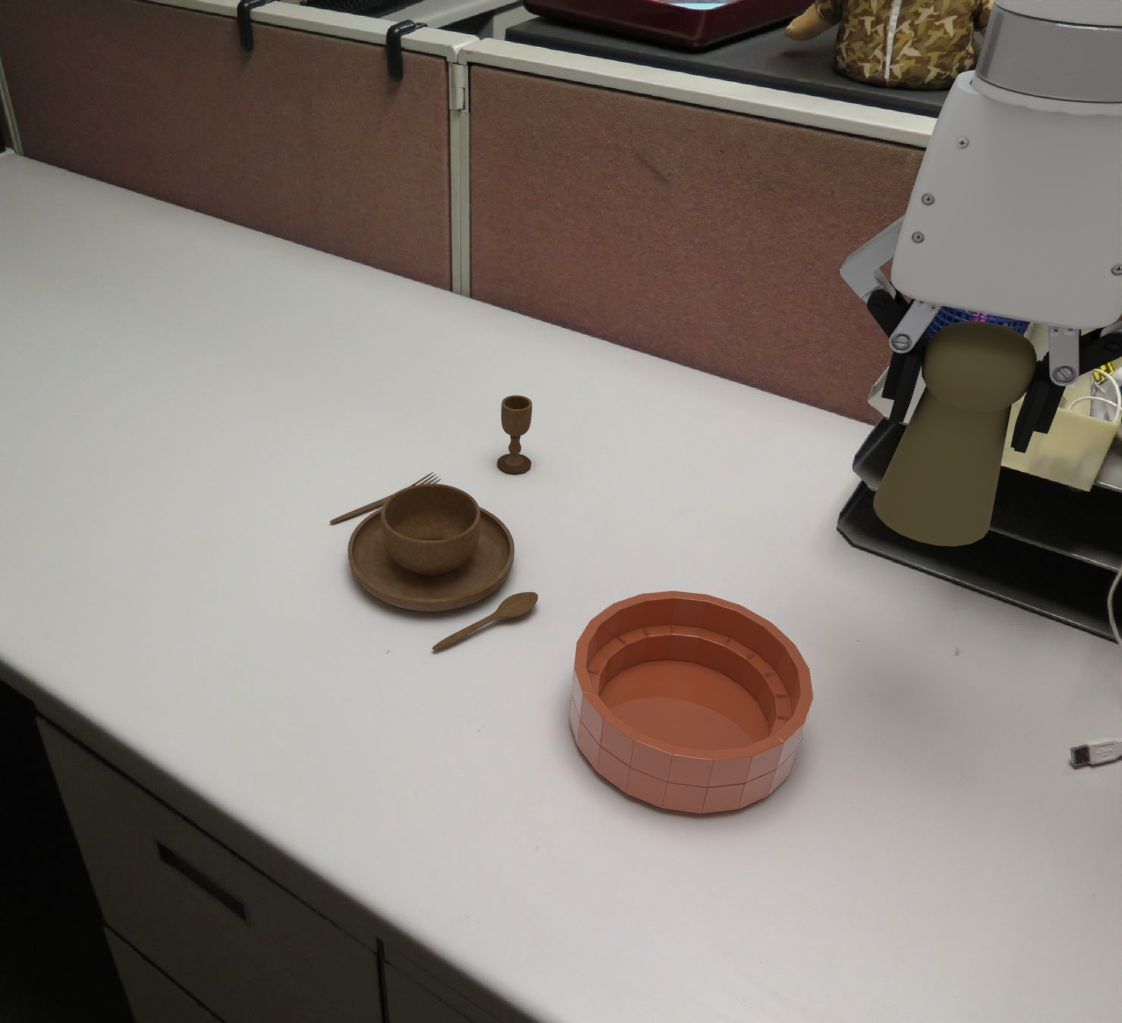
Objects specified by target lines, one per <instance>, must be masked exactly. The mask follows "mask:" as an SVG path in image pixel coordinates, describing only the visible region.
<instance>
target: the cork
mask: <svg viewBox="0 0 1122 1023" xmlns="http://www.w3.org/2000/svg"><path fill="white" fill-rule="evenodd" d="M1037 361H1038V356H1037V352H1036V349H1035V346H1034V345H1033V343H1032V342H1031V341H1030V339H1028V338H1027V337H1025V336H1024V335H1023V334H1021V333H1020V332H1019V331H1017V330H1016V329H1012V328H1011V327H1008V326H1005V325H1002V324H998V323H994V322H988V321H983V320H967V321H958V322H954V323H951V324H948V325H945V326H943V327H942V328H941V329H940V330H938V331H937V332H936V333H935V334H934V335H933V336H932V337H931V338H929V341H928V344H927V345H926V347H925V351H924V355H923V358H922V365H921V378H922V380H923V382H924V384H925V387H924V388H923V391H922V393H921V395H920V397H919V400H918V402H917V404H916V406H915V408H914V410H913V413H912V415H911V416H910V419H909V421H908V423H907V425H906V428H905V430H904V432H903V434H902V436H901V439H900V441H899V443H898V445H897V447H896V449H895V451H894V454H893V456H892V458H891V460H890V462H889V464H888V467H887V468H886V471H885V473H884V475H883V477H882V479H881V482H880V484H879V486H878V488H877V490H876V492H875V494H874V497H873V503H872V504H873V505H872V506H873V509H874V512H875V514H876V516H877V517H878V518H879V520H880V521H882V522H883V523H884V525H885V526H886V527H888V528H890V529H891V530H892V531H894V532H896V533H897V534H899V535H901V536H903V537H906V538H909V539H911V540H913V541H916V542H918V543H919V542H920V543H922V544H923V543H924V544H928V545H933V546H937V547H938V546H939V547H959V546H966V545H972V544H973V543H976V542H977V541H979V540H981V539H983V538H984V537H985V536H986V535H987V533H988V532H989V531H990V527H991V521H992V515H993V512H994V511H993V510H994V506H995V500H996V495H997V489H998V484H999V478H1000V472H1001V468H1002V461H1003V456H1004V450H1005V445H1006V439H1007V435H1008V428H1009V423H1010V417H1011V411H1012V406H1013V405H1014V404H1015V403H1016V402H1018V401H1019V400H1021V399H1022V398H1023V397H1024V396H1025V394H1026V392H1027V390H1028V389H1029V387H1030V386H1031V385H1032V382H1033V379H1034V377H1035V374H1036V372H1037Z"/></svg>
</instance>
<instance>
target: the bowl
mask: <svg viewBox="0 0 1122 1023" xmlns="http://www.w3.org/2000/svg"><path fill="white" fill-rule="evenodd" d="M572 673H573V674H572V682H571V690H570V691H571V692H570V700H569V701H570V702H569V712H568V721H569V724H570V727H571V730H572V733H573V737H574V740H575V744H576V745H577V748H578V750H579V751H580V752H581V753H582V755H583V756H584V757H585V759H586V760H587V762H589V763H590V765H591V766H592V768H593V769H594V770H595V772H597V774H599V775H600V776H602V777H603V778H604V779H606V780H607V781H609V782H610V783H611V784H612V785H614V786H615V787H616V788H618V789H619V790H621V792H623V793H625V794H626V795H628V796H631V797H633V798H636V799H638V800H641V801H643V802H646V803H648V804H650V805H653V806H655V807H658V808H661V809H665V810H672V811H679V812H687V813H691V814H707V813H716V812H717V813H718V812H726V811H733V810H740V809H743V808H745V807H746V806H749V805H752V804H754V803H755V802H758V801H760V800H762V799H765V798H767V797H769V796H770V795H772V793H773V792H774V791H775V790H776V789H777V788H778V787H779V786H780V785H781V784H782V783H783V782H784V781H785V780H786V779H787V778H788V777H789V775H790V774H791V771H792V767H793V765H794V762H795V759H796V757H797V753H798V750H799V747H800V744H801V740H802V737H803V733H804V730H805V727H806V723H807V720H808V718H809V713H810V710H811V707H812V704H813V700H814V691H813V684H812V683H813V682H812V676H811V670H810V667H809V666H808V664H807V663H806V661H805V659H804V657H803V655H802V653H801V651H800V650H799V649H798V646H797V645H796V644H795V642H794V641H793V640H791V639H790V638H789V637H788V636H787V635H786V634H785V633H784V632H782V630H780V629H779V628H778V627H777V626H776V625H775V624H774V623H773V622H771V621H770V620H768V619H766V618H765V617H763V616H761V615H760V614H758V613H756V612H754V611H752V610H751V609H748V608H747V607H745V606H743V605H741V604H738V603H736V602H732V601H730V600H726V599H723V598H720V597H718V596H713V595H711V594H708V593H698V592H697V593H696V592H689V591H679V590H667V591H656V592H646V593H639V594H636V595H633V596H630V597H628V598H625V599H621V600H619V601H617V602H614V603H612V604H610V605H609V606H607V607H606V608H605V609H603V610H602V611H600V612H599V613H598V614H597V615H595V616H594V617H593V618H591V619H590V620H589V621H588V623H587V624H586V626H585V628H584V629H583V631H582V633H581V634H580V636H579V637H578V639H577V640H576V643H575V654H574V662H573V671H572Z"/></svg>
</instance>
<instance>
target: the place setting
mask: <svg viewBox="0 0 1122 1023" xmlns="http://www.w3.org/2000/svg"><path fill="white" fill-rule="evenodd" d="M500 407H501V408H500V422H501V428H502V430H503V431H504V433H505V434H507V435H508V436H509V439H510V442H509V444H508V447H507V450H508V452H509V453H505V454H502V455H501V456H500V457H499V458H498V459H497V461H496V466H497V468H498V469H499V470H500V471H502V472H503V473H506V474H511V475H520V474H523V473H526V472H528V471H529V470H530V469H531V467H532V461H531V459H530V458H529V457H528V456H526V455H524V454H522V453H521V451H522V445H521V442H520V441H521V437H522V436H524V435H525V434H527V432H528V431H529V430H530V428H531V424H532V417H533V402H532V400H531V399H530V398H529V397H527V396H524V395H518V394H514V395H512V394H511V395H508V396H506V397H504V398H502V400H501V405H500ZM432 474H433V475H432ZM432 478H433V479H432ZM438 478H439V475H438V476H437V474H434V471H432V472H430V473H429V474H427V475H425V476H423V477H422V478H420V479H418V480H417V481H416V482H413V483H412V484H410V485H408V486H407V487H405V488H402V489H400V490H398V491H396V492H395V493H393V494H390V495H387V496H385V497H382V498H381V499H377V500H376V501H373V502H370V503H368V504H366V505H363V506H361V507H358V508H356V509H353V510H352V511H349V512H346V513H344V514H341V515H340V516H337V517H335V518H333V519H331V520H329V523H330V524H336V523H339V522H342V521H345V520H347V519H350V518H353V517H355V516H357V515H360V514H363V513H365V512H367V511H369V510H372V509H374V508H377V507H379V506H381V505H382V506H381V508H378V509H377V510H376V511H374V512H372V513H370V514H369V515H367V516H366V517H365V518H364V519H363V520H362V521H361V522H359V523H358V524H357V526H356V527H355V528H354V530H353V532H352V533H351V535H350V536H349V541H348V544H347V558H348V563H349V567H350V570H351V573H352V574H353V576H354V578H355V579H356V581H357V582H358V583H359V585H360V586H361V587H362V588H364V590H366V591H367V592H368V593H369V594H370V595H372V596H373V597H375V598H376V599H378V600H380V601H382V602H384V603H387V604H389V605H391V606H394V607H397V608H401V609H405V610H408V611H409V610H411V611H417V612H444V611H451V610H456V609H460V608H463V607H467V606H470V605H472V604H475V603H477V602H479V601H481V600H483V599H485V598H486V597H488V596H489V595H491V594H493V592H495V591H496V590H497V589H498V588H499V587H500V586H501V585H502V584H503V583H504V582H505V580H506V579H507V577H508V575H509V574H510V572H511V569H512V567H513V564H514V558H515V550H516V549H515V542H514V538H513V535H512V533H511V531H510V530H509V528H508V526H506V524H505V523H504V522H503V521H502V520H501V519H500V518H499V517H497V516H496V515H495V514H494V513H492V512H490V511H489V510H487V509H485V508H483V507H482V506H479V503H478V502H477V501H476V499H475V498H474V497H473V496H472V495H471V494H469V493H468V492H466V491H464V490H463V489H460V488H458V487H455V486H452V485H448V484H444V483H439V482H440V481H441V480H442V478H439V479H438ZM538 601H539V595H538V593H537V592H534V591H524V592H519V593H514V594H511V595H509V596H508V597H506V598H505V599H504V600H502V602H501V603H499V605H498V606H497V608H496V609H495V610H494V612H492V613H490V614H489V615H487V616H485V617H484V618H482V619H480V620H478V621H476V622H474V623H472V624H469V625H468V626H465V627H464V628H462V629H460V630H457V631H456V632H454V633H452V634H450V635H448V636H447V637H445V638H443V639H441V640H440V641H438V642H437V643H436V644H435V645H433V646H432V647H431V649H432V650H433V651H437V650H438V651H439V650H441V649H443V648H446V647H448V646H451V645H452V644H454V643H456V642H458V641H460V640H461V639H462V638H464V637H467V636H468V635H470V634H471V633H473V632H475V631H477V630H478V629H480V628H482V627H484V626H486V625H488V624H489V623H491V622H493V621H496V620H500V619H514V618H517V617H520V616H523V615H525V614H527V613H528V612H530V611H531V610H532V609H533V608H534V607H535V606H536V604H537V602H538Z"/></svg>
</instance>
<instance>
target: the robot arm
mask: <svg viewBox="0 0 1122 1023" xmlns="http://www.w3.org/2000/svg"><path fill="white" fill-rule="evenodd" d="M912 188H913V189H912V191H911V194H910V198H909V201H908V205H907V207H906V211H905V213H904V214H903V215H901V216H900V217H899V218H898V219H896V220H895V221H893V222H892V223H891V224H889V225H888V226H887V227H885V228H884V229H883V230H881V231H879V233H877V234H876V235H874V236H873V237H872V238H870V239H869V240H868V241H866V242H865V243H864V244H861V246H860V247H859V248H857V249H856V250H854V251H853V252H851V253H850V254H849V255H847V257H846V258H845V259H844V261H843V262H842V264H841V266H840V268H839V275H840V277H841V279H842V280H843V281H844V282H845V283H846V284H847V285H848V286H849V288H850V289H851V290H852V291H853V293H855V294H856V296H857V297H858V298H859V299H860V300H862V301H863V302H864V303H865V305H866V309H867V310H868V311H869V313H870V315H871V316H872V318H873V319H874V321H875V322H876V323H877V324H878V326H879V327H880V328H881V330H882V331H883V332H884V334H885V335H886V337H887V338H888V345H889V348H890V349H891V350H892V355H891V358H890V362H889V366H888V370H887V374H886V376H885V381H884V384H883V388H882V392H881V395H880V398H881V399H886V400H890V401H893V403H892V407H891V410H890V413H889V417H888V420H887V422H888V423H890V424H895V425H899V424H900V423H902V424H904V422H905V419H906V416H907V414H908V411H909V408H910V404H912V399H913V397H914V393H915V389H916V386H917V383H918V379H919V376H920V372H921V370H922V368H921V365H922V358H923V355H924V351H925V347H926V345H927V344H928V342H929V340H930V338H928V337H926V336H927V331H928V329H927V328H928V327H929V326H930V324H931V323H932V322H933V320H934V318H935V317H936V315H938V313H939V311H940V310H941V309H942V307H946V308H952V309H958V310H962V311H966V312H967V311H968V312H973V313H979V314H983V315H989V316H994V317H1000V318H1007V319H1012V320H1018V321H1022V322H1027V323H1028V322H1029V323H1034V324H1040V325H1045V326H1048V327H1047V328H1048V331H1047V332H1048V351H1047V352H1045V355H1043V357H1042V359H1041V360H1040V359H1037V372H1036V374H1035V377H1034V379H1033V382H1032V385H1031V386H1030V387H1029V389H1028V390H1027V391H1026V393H1025V394H1024V396H1023V397H1024V398H1023V400H1022V403H1021V405H1020V409H1019V411H1018V414H1017V417H1016V419H1015V423H1014V427H1013V431H1012V432H1013V433H1012V437H1011V443H1010V448H1011V449H1013V451H1014V452H1018V453H1022V454H1026V452H1027V450H1028V447H1029V445H1030V442H1031V439H1032V437H1033V433H1035V432H1036V433H1040V434H1043V435H1044V434H1045V435H1048V434H1049V432H1050V429H1051V427H1052V424H1053V421H1054V419H1055V416H1056V414H1057V411H1058V409H1059V406H1060V404H1061V401H1062V398H1063V395H1064V393H1065V391H1066V388H1067V386H1071V385H1073V384H1075V383H1076V382H1077V380H1078V379H1079V377H1081V376H1083V375H1085V374H1087V373H1089V372H1092V371H1094V370H1096V369H1098V368H1100V367H1103V366H1105V365H1107V364H1109V363H1111V362H1114V361H1116V360H1118V359H1120V358H1122V320H1120V321H1118V320H1119V319H1120V318H1121V316H1122V0H994V2H993V3H992V6H991V10H990V13H989V17H988V21H987V25H986V27H985V31H984V36H983V40H982V43H981V47H980V51H979V54H978V58H977V61H976V65H975V69H973V70H967V71H963V72H960V73H959V74H957V76H956V77H955V80H954V82H953V84H952V86H951V88H950V90H949V91H948V94H947V96H946V98H945V100H944V102H943V105H942V108H941V110H940V112H939V115H938V117H937V120H936V122H935V124H934V127H933V130H932V131H931V135H930V138H929V141H928V143H927V146H926V149H925V152H924V155H923V158H922V161H921V164H920V167H919V170H918V173H917V176H916V179H915V182H914V184H913V187H912ZM890 260H892V265H891V270H890V281H888V279H887V278H886V275H885V274H884V273H883V272H882V270H881V267H882V266H884V265H885V264H887V263H888V262H890ZM905 296H906V297H908V298H910V299H909V301H907V299H906V298H905ZM1117 321H1118V322H1117ZM1083 330H1089V332H1086V333H1084V334H1083Z"/></svg>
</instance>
